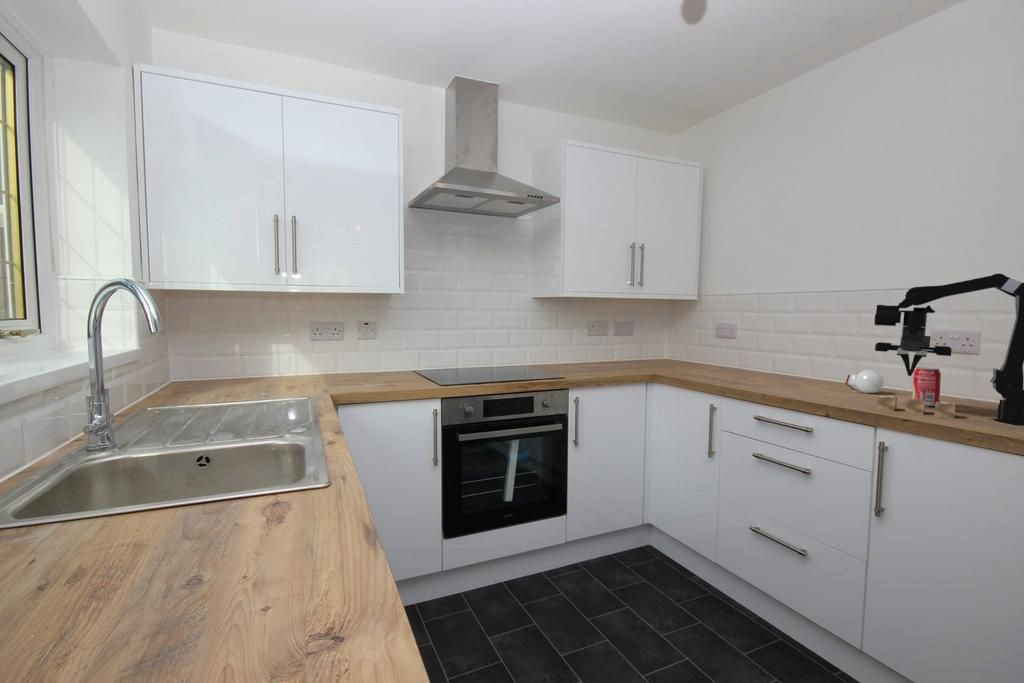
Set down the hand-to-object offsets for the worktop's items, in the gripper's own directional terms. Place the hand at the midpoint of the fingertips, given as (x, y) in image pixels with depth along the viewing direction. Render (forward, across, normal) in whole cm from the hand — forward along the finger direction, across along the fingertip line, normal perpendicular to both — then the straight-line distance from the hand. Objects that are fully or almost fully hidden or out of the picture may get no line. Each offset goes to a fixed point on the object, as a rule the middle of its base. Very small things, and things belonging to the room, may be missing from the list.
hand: (909, 375), depth 159 cm
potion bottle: (+12, -15, +39) cm, 44 cm away
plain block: (+11, +2, -2) cm, 12 cm away
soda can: (+11, +4, +18) cm, 21 cm away
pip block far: (+12, -5, -2) cm, 13 cm away
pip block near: (+11, +9, -2) cm, 15 cm away
